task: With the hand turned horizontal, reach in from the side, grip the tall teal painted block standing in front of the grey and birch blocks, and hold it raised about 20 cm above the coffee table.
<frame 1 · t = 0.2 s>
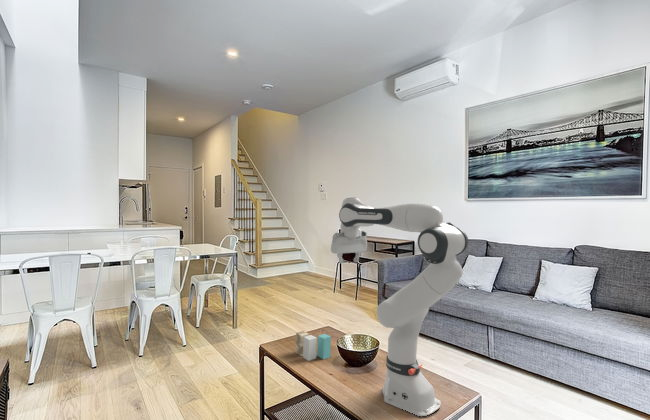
hand: (348, 262, 155), 47 cm above the table, tool pointing down, fingers open, 8 cm apart
teal block: (323, 356, 163), on the table
grey block: (309, 358, 161), on the table
birch block: (301, 353, 166), on the table
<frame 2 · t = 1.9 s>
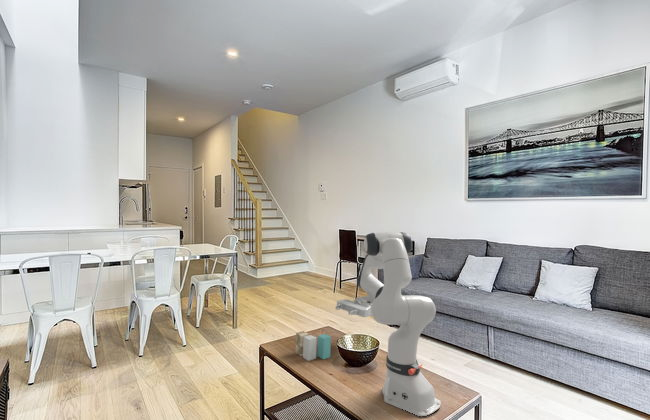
hand: (342, 310, 171), 20 cm above the table, tool horizontal, fingers open, 8 cm apart
nothing on the table moved.
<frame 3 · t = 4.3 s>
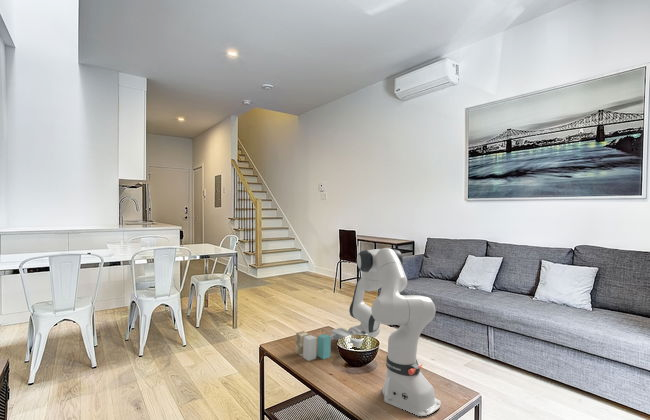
hand: (336, 341, 168), 5 cm above the table, tool horizontal, fingers open, 8 cm apart
nothing on the table moved.
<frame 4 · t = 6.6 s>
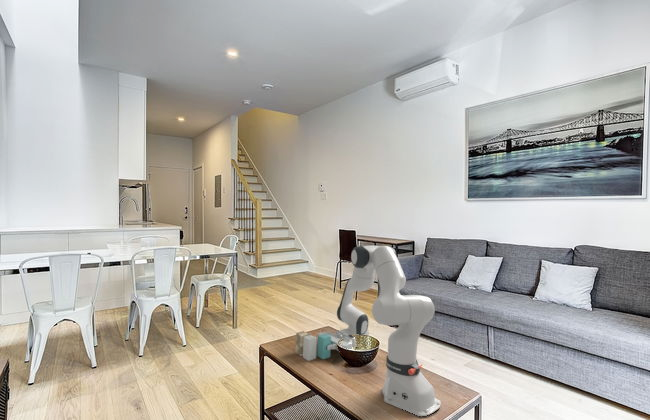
hand: (322, 345, 162), 6 cm above the table, tool horizontal, fingers closed on teal block, 4 cm apart
teal block: (323, 356, 163), on the table, touching gripper
everything else where it was.
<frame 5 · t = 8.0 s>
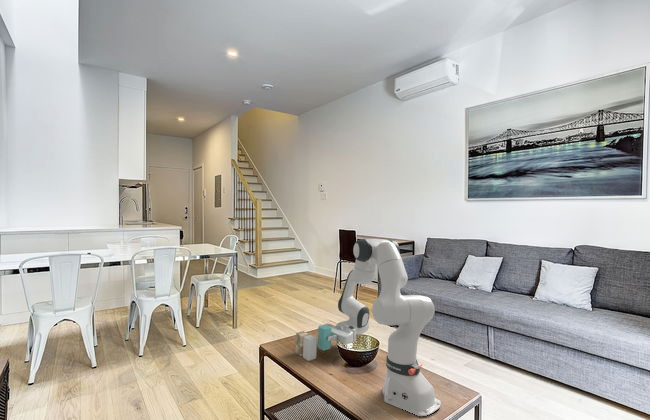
hand: (323, 336, 162), 10 cm above the table, tool horizontal, fingers closed on teal block, 4 cm apart
teal block: (324, 347, 163), point 4 cm above the table, touching gripper
everything else where it was.
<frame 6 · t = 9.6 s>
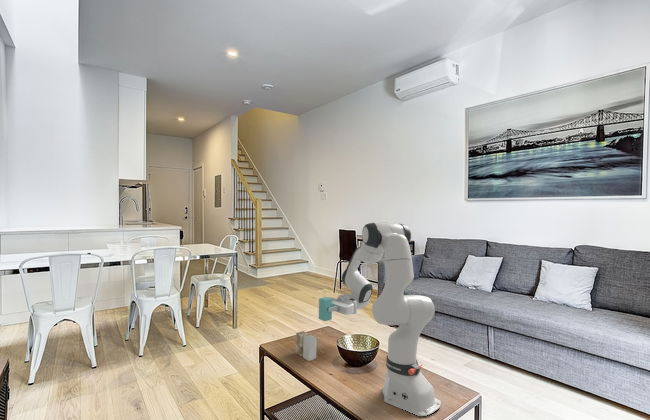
hand: (324, 308, 162), 24 cm above the table, tool horizontal, fingers closed on teal block, 4 cm apart
teal block: (325, 319, 163), point 18 cm above the table, touching gripper
everything else where it was.
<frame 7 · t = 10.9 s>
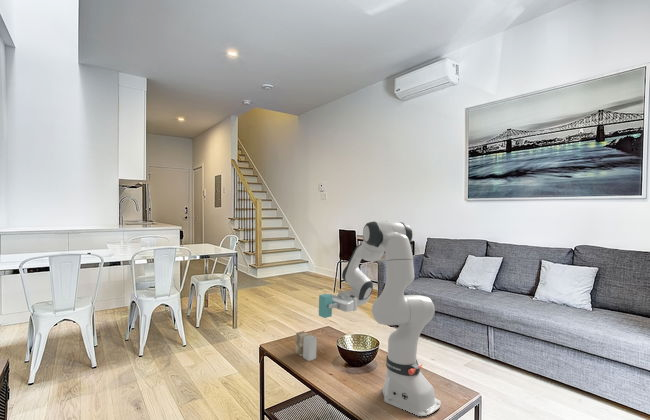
hand: (324, 304, 162), 25 cm above the table, tool horizontal, fingers closed on teal block, 4 cm apart
teal block: (325, 315, 163), point 20 cm above the table, touching gripper
everything else where it was.
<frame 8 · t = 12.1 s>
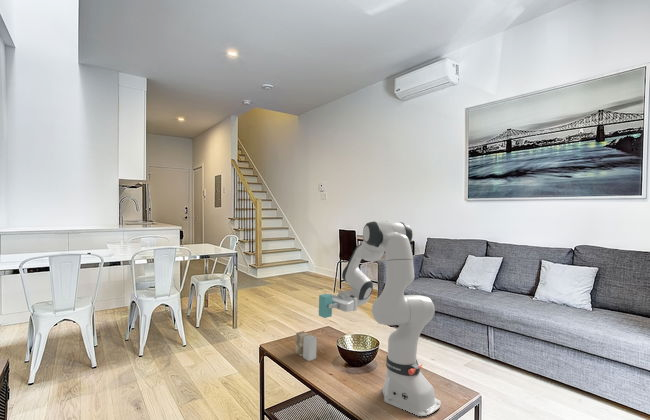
hand: (324, 304, 162), 25 cm above the table, tool horizontal, fingers closed on teal block, 4 cm apart
teal block: (325, 315, 163), point 20 cm above the table, touching gripper
everything else where it was.
at the end: the gripper is holding teal block; teal block point 19.9 cm above the table; grey block moved 0.0 cm from its start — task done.
